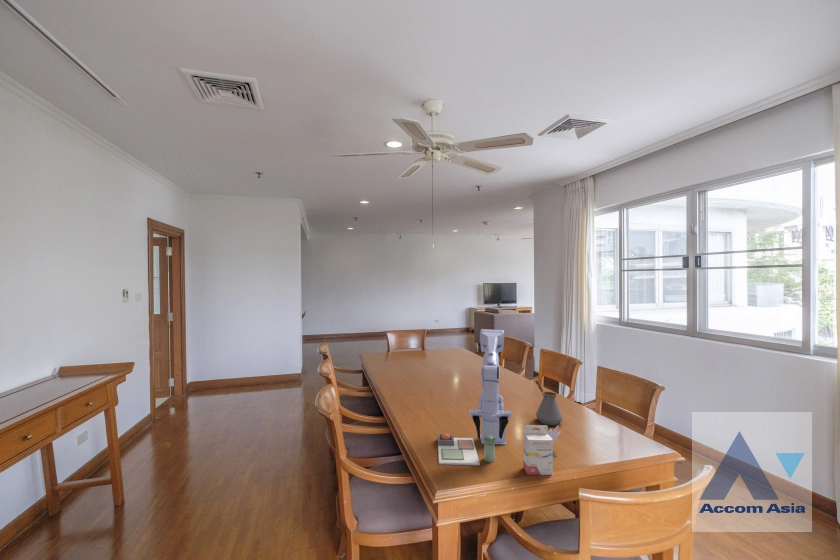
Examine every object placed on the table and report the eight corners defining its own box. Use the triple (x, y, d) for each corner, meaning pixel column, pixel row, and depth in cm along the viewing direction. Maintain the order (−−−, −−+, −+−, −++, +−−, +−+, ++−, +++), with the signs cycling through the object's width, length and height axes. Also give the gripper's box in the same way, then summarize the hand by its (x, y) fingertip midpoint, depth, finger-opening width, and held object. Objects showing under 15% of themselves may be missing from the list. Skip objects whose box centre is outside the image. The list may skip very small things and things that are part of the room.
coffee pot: (567, 427, 160) (567, 392, 160) (542, 427, 159) (542, 393, 159) (546, 409, 181) (546, 379, 181) (524, 410, 180) (524, 379, 180)
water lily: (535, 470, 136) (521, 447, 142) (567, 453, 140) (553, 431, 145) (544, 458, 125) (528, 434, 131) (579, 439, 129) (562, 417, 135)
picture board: (472, 439, 146) (473, 433, 146) (479, 465, 126) (479, 458, 126) (437, 438, 146) (437, 432, 146) (438, 464, 126) (439, 457, 126)
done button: (450, 438, 144) (450, 433, 144) (450, 442, 140) (450, 437, 140) (441, 437, 144) (441, 432, 144) (441, 441, 141) (441, 436, 141)
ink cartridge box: (527, 475, 120) (528, 430, 120) (522, 467, 125) (523, 424, 125) (553, 475, 120) (553, 430, 120) (547, 467, 125) (548, 424, 125)
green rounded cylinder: (493, 457, 132) (494, 435, 132) (495, 462, 128) (495, 439, 128) (483, 457, 132) (483, 435, 132) (484, 462, 128) (485, 439, 128)
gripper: (470, 402, 126) (470, 441, 126) (513, 403, 126) (512, 442, 126) (468, 395, 133) (468, 433, 133) (508, 396, 133) (508, 434, 133)
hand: (489, 437), depth 130 cm, fingers open, 7 cm apart
